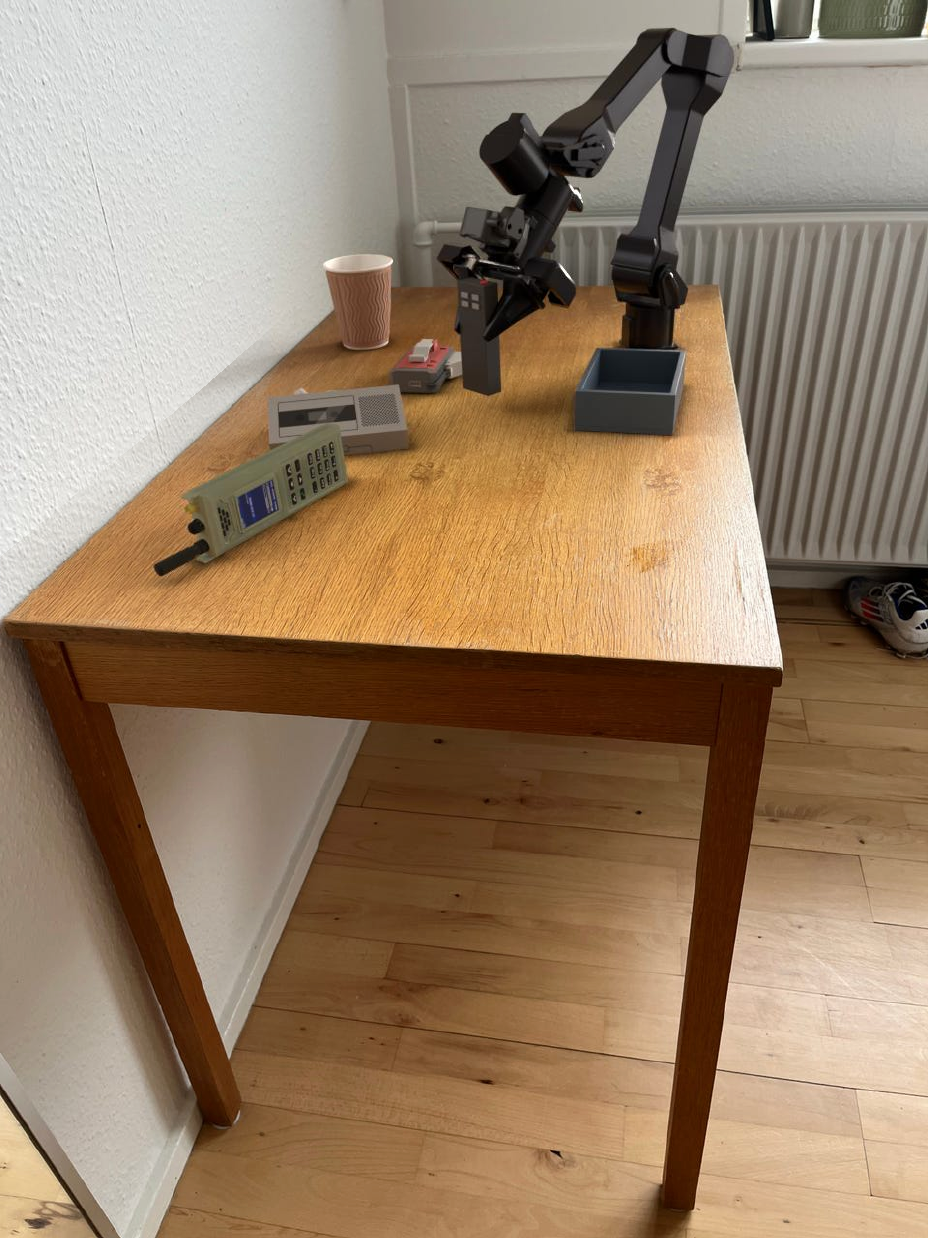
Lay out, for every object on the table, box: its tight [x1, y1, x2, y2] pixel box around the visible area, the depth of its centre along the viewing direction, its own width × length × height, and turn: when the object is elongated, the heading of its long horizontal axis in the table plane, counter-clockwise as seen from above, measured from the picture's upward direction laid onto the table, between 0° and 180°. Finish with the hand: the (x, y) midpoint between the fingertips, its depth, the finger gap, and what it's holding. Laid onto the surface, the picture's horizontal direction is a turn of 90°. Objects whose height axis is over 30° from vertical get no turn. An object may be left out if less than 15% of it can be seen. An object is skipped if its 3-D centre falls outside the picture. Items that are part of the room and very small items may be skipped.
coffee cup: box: [322, 253, 394, 351], centre depth 143 cm, size 10×10×12 cm
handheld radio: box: [153, 423, 349, 577], centre depth 93 cm, size 7×3×25 cm
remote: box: [456, 277, 502, 397], centre depth 114 cm, size 2×5×13 cm, turn 43°
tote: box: [573, 347, 687, 436], centre depth 116 cm, size 16×11×5 cm
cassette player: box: [266, 384, 410, 456], centre depth 112 cm, size 16×3×10 cm
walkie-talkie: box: [388, 338, 462, 395], centre depth 132 cm, size 9×4×20 cm
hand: (470, 336), depth 113 cm, fingers closed on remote, 4 cm apart
